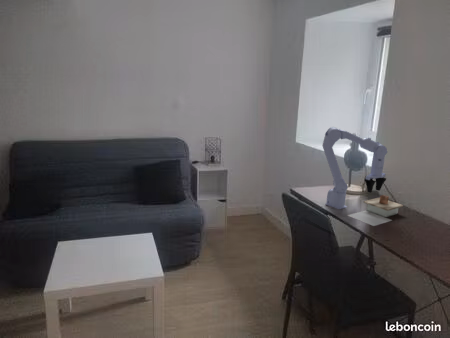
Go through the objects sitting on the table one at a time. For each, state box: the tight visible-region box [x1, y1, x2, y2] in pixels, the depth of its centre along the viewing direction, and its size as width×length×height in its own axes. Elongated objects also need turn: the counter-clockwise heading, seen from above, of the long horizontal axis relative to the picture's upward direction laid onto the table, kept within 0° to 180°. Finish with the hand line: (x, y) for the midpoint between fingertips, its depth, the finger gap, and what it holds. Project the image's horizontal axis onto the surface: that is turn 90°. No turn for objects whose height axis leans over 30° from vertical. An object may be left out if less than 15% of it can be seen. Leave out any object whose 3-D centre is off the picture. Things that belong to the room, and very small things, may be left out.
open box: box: [366, 204, 399, 218], centre depth 184 cm, size 11×11×4 cm
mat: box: [346, 209, 393, 227], centre depth 176 cm, size 16×16×1 cm
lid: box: [363, 194, 404, 211], centre depth 183 cm, size 14×14×5 cm
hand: (373, 191), depth 187 cm, fingers open, 7 cm apart
